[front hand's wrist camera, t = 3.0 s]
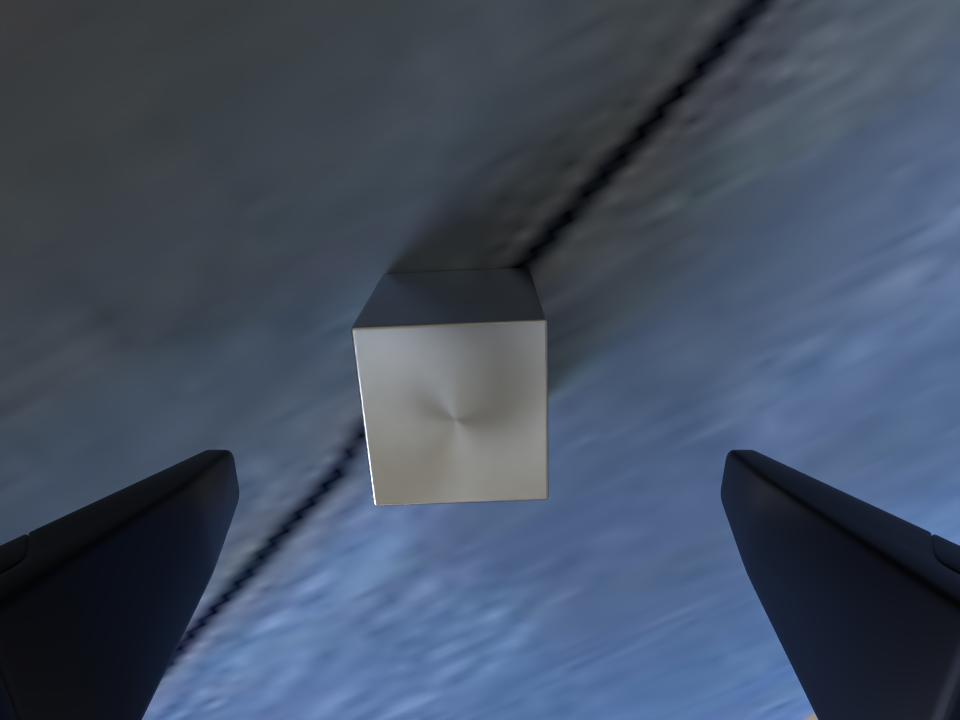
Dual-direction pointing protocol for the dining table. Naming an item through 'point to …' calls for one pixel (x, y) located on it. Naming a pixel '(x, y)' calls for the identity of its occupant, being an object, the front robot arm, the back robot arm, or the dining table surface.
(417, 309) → the metal block
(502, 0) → the dining table surface
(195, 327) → the dining table surface
